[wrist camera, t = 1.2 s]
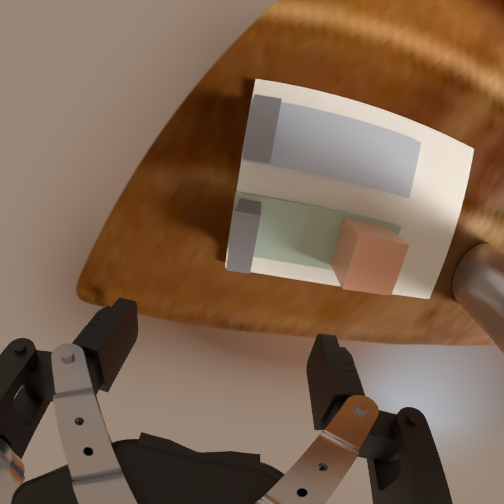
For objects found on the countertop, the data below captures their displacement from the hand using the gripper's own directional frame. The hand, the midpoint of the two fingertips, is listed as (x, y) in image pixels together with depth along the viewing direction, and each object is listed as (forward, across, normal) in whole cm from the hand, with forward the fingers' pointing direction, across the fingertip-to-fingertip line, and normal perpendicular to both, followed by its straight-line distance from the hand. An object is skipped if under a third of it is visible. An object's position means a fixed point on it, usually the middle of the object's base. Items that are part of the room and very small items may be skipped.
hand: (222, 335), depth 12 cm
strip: (+17, -7, -9) cm, 21 cm away
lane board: (+18, -11, -4) cm, 22 cm away
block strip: (+17, -7, 0) cm, 19 cm away
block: (+17, -12, 0) cm, 20 cm away
